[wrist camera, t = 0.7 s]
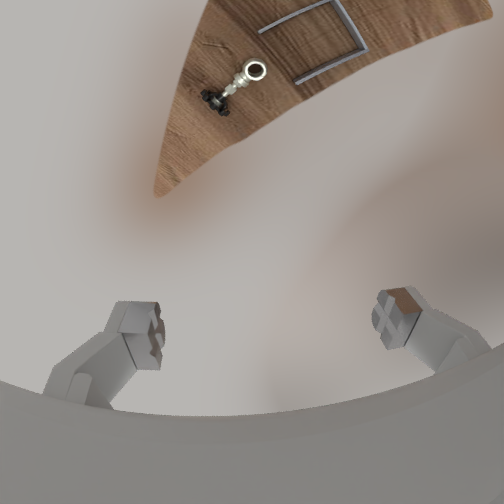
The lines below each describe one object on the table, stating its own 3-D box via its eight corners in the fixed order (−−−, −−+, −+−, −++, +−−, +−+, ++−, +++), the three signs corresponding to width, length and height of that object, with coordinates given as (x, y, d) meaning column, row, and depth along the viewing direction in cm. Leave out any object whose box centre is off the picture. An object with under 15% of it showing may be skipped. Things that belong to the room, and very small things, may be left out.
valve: (250, 48, 39) (203, 89, 44) (251, 49, 34) (197, 96, 39) (275, 72, 42) (227, 112, 48) (278, 77, 37) (224, 121, 43)
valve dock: (330, -3, 30) (335, -5, 28) (362, 50, 37) (369, 51, 35) (257, 31, 36) (257, 31, 34) (294, 82, 43) (296, 85, 41)
